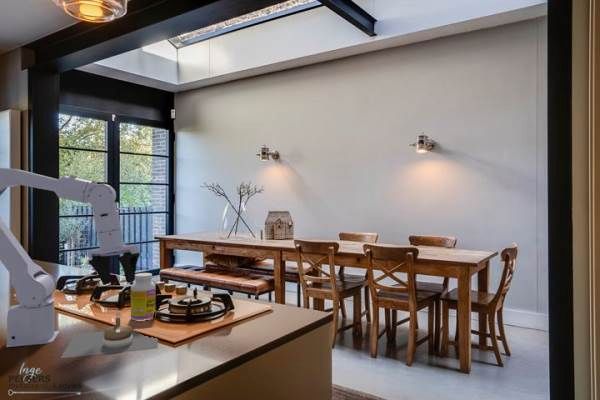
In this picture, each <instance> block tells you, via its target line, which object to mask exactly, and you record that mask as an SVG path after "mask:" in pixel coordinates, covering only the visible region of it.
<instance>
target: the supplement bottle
mask: <svg viewBox="0 0 600 400" xmlns="http://www.w3.org/2000/svg"><path fill="white" fill-rule="evenodd" d="M152 279H153V274H152V273H151V272H140V273H135V281H134V283H133V284H131V286H130V320H131V319H132V320H144V319H149V318H151V317H153V315H154V312H155V313H156V307H157V306H156V300H157V299H156V297H157V296H156V295H157V294H156V286H157V285H156V284H155V283H154V282H153V281H152ZM132 320H131V321H132Z"/></svg>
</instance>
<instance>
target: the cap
mask: <svg viewBox="0 0 600 400" xmlns="http://www.w3.org/2000/svg"><path fill="white" fill-rule="evenodd" d="M132 329H133V328H132V326H130V325H124V324H123V325H121V310H115V325H114V326H113V325H112V326H110V327H107V328H105V329H104V330H103V331H104V339H106V340H110V341H116V340H122V339H126V338H128V337H130V336H131V335H132Z"/></svg>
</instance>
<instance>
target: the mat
mask: <svg viewBox="0 0 600 400" xmlns="http://www.w3.org/2000/svg"><path fill="white" fill-rule="evenodd" d="M103 338H104V330H103V331H94V332H93V331H92V332H83V333H81V332H80V333H75V334H73V336H72V337H71V340H70V341H69V343H68V345H67V346H66V348H65V350H64V351H63V353H62V355H61V356H60V359H69V358H70V359H71V358H76V357H77V358H78V357H85V356H87V357H88V356H96V355H106V354H115V353H117V354H118V353H124V352H134V351H145V350H153V349H154V350H155V349H158V347H159V346H158V344H159V338H158V339H157V338H153V337H151V338H149V337H148V336H144V335H142V334H140V333H137V332H135V331H132V343H131V344H130V345H127V346H124V347H120V348H106V347H104V346H103Z"/></svg>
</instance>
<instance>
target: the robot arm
mask: <svg viewBox="0 0 600 400" xmlns="http://www.w3.org/2000/svg"><path fill="white" fill-rule="evenodd" d="M17 186H24V187H30V188H36V189H41V190H46V191H51V192H54V193H55V194H56V196H57V197H58V198H59V199H62V200H68V201H72V202H76V203H81V204H86V205H87V204H90V206H92V211H93V220H94V224H95V230H96V235H97V241H98V246H99V248H94V249H90V250H87V251H86V252H87V255H88V256H87V257H88V259H90V260H88V264H89V265H90V266H91V267H92V268H93V270H95V272H96V273H97V276H98V277H99V279H100V281H101V282H102V285H103V286H106V285H108V284H110V283H111V282H112V276H111V275H112V274H111V270H110V267H111V265H110V263H111V257H112V256H117V260H118V261H119V263H120V265H121V267H122V270H123V273H124V278H125V281H126V283H127V284H131V283H133V282H135V274H136V269H137V264H138V261H139V258H140V255H141V253H140V249H139V244H126V243H125V242H124V237H123V231H122V225H121V220H120V215H119V211H118V208H117V207H118V206H117V204H116V203H117V202H116V199H117V192H116V190H115V189H114V188H113V187H112V186H111V185H109V184H106V183H100V184H98V180H94V179H92V180H86V179H84V178H78V175H75V174H69V176H68V175H63V176H61V177H60V178H54V177H50V176H46V175H42V174H37V173H35V172H30V171H27V170H22V169H18V168H7V167H0V197H1V196H2V195H3V194H4V192H5V191H6V190H7V189H8V188H14V187H17ZM118 255H120V256H118ZM0 262H1V264H3V266H4V267H5V269H6V270H7V271H8V273H9V274H10V284H11V286H12V287H13V288H14V291H15V298H16V300H17V302H18V304H16V305H12V306H11V305H10V307H9V309H8V310H7V311H8V312H7V316H6V344H5V345H6V346H5V347H6V348H12V347H13V348H14V347H21V346H22V347H23V346H33V345H43V344H44V345H45V344H52V343H53V342H54V341H55V340H56V337H57V336H58V335H59V334H60V330H55V299H54V297H53V294H54V293H55V291H56V289H57V280H56V279H55V277H54V276H53V275H52V274H49V273H48V272H46V271H45V270H44V268H42V267H41V266H40V265H38V264H37V263H35V262H34V261H33V260H32V258H31V257H30V256H29V254H28V253H27V251H26V250H25V249H24V248H23V246H22V245H21V243H20V242H19V240H18V239H17V238H16V237H15V235H14V234H13V233H12V231H11V230H10V228H9V227H8V226H7V224H6V223H5V221H4V220H3V219H2V217H1V216H0Z"/></svg>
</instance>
